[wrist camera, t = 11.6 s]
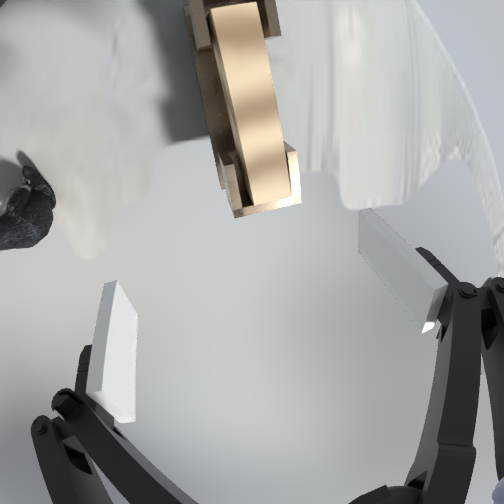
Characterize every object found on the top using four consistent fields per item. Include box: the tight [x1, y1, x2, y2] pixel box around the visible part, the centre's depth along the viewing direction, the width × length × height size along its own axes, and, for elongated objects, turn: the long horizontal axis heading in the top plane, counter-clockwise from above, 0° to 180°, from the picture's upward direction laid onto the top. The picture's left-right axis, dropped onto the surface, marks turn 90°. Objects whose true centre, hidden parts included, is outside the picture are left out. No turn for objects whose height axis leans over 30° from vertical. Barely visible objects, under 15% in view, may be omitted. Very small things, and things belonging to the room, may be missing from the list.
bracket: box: [184, 0, 301, 218], centre depth 31 cm, size 25×8×10 cm, turn 9°
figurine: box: [0, 166, 56, 250], centre depth 29 cm, size 10×10×15 cm
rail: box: [206, 2, 292, 206], centre depth 28 cm, size 20×4×5 cm, turn 11°
